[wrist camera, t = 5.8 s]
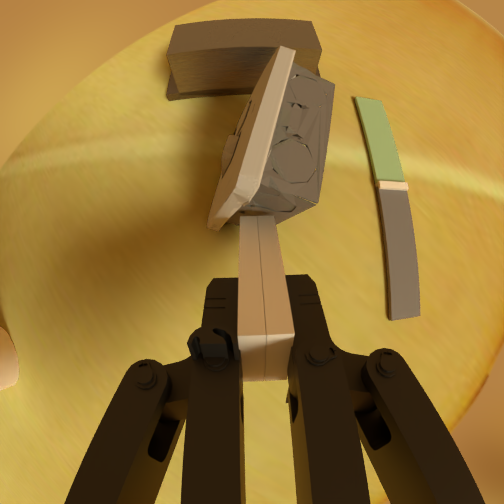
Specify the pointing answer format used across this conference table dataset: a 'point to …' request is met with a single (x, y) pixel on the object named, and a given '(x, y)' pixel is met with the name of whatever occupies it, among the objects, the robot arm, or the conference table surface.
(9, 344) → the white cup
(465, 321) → the conference table surface
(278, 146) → the electrical switch
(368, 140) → the green and grey strip
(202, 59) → the block
